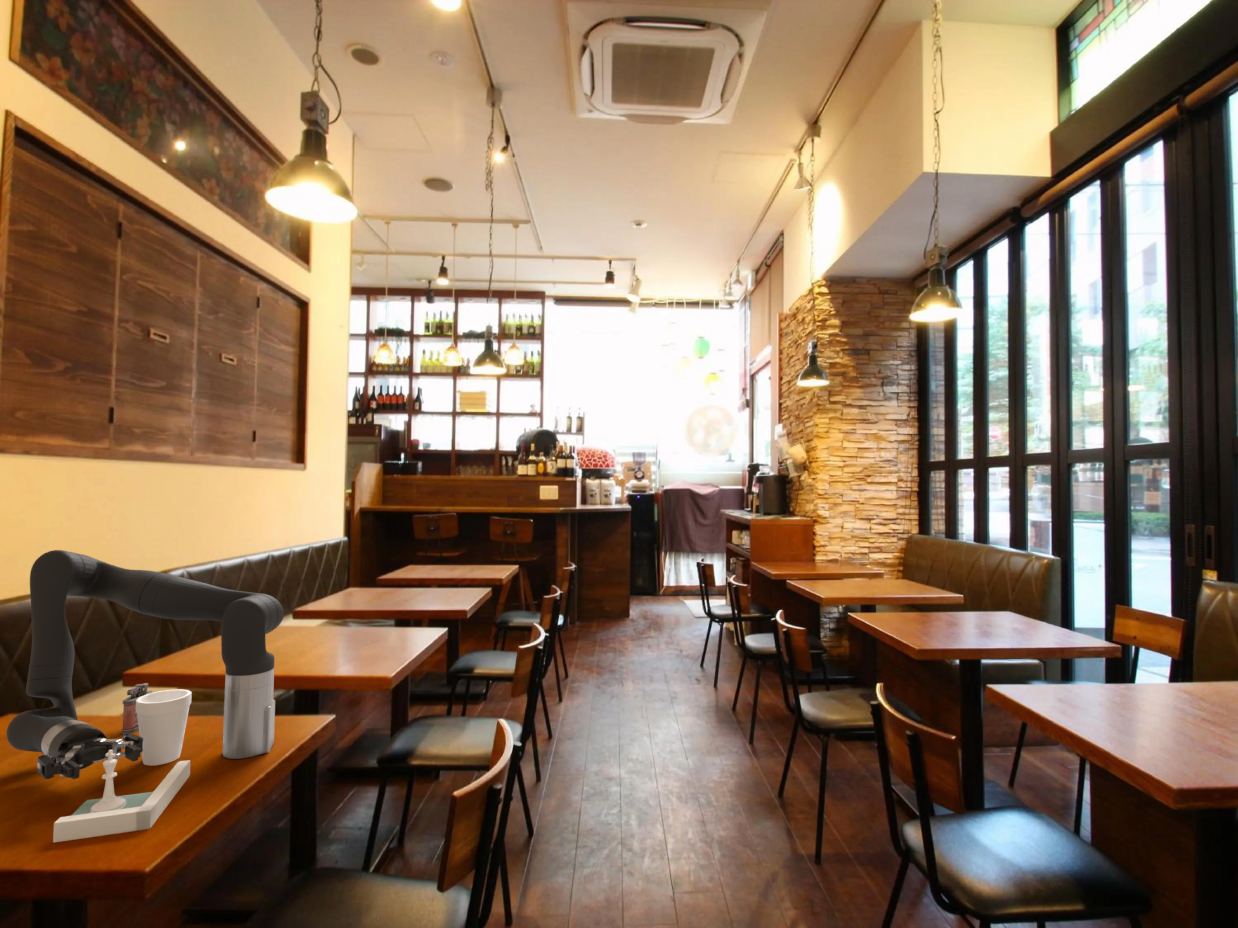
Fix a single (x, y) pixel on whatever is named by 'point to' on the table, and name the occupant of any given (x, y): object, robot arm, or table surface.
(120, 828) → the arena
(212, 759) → the table surface
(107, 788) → the chess piece
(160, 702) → the foam cup
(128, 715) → the lighter
